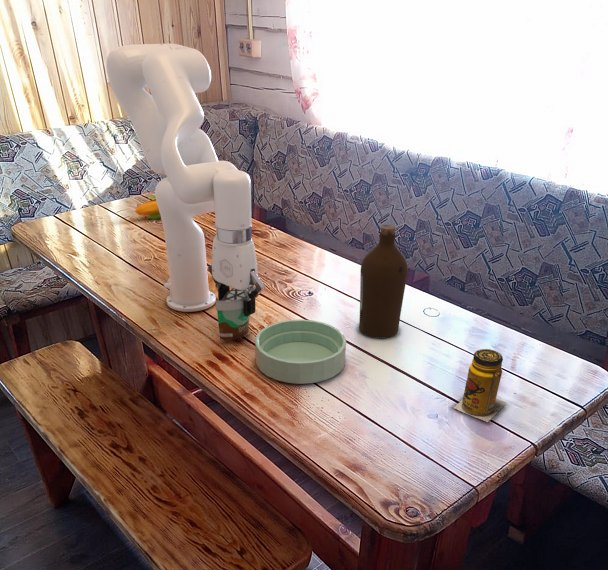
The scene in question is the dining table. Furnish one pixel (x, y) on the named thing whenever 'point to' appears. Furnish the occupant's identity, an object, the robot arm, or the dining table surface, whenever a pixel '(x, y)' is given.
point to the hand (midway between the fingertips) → (237, 308)
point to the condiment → (482, 386)
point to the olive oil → (382, 287)
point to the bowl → (300, 351)
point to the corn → (149, 209)
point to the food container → (232, 315)
